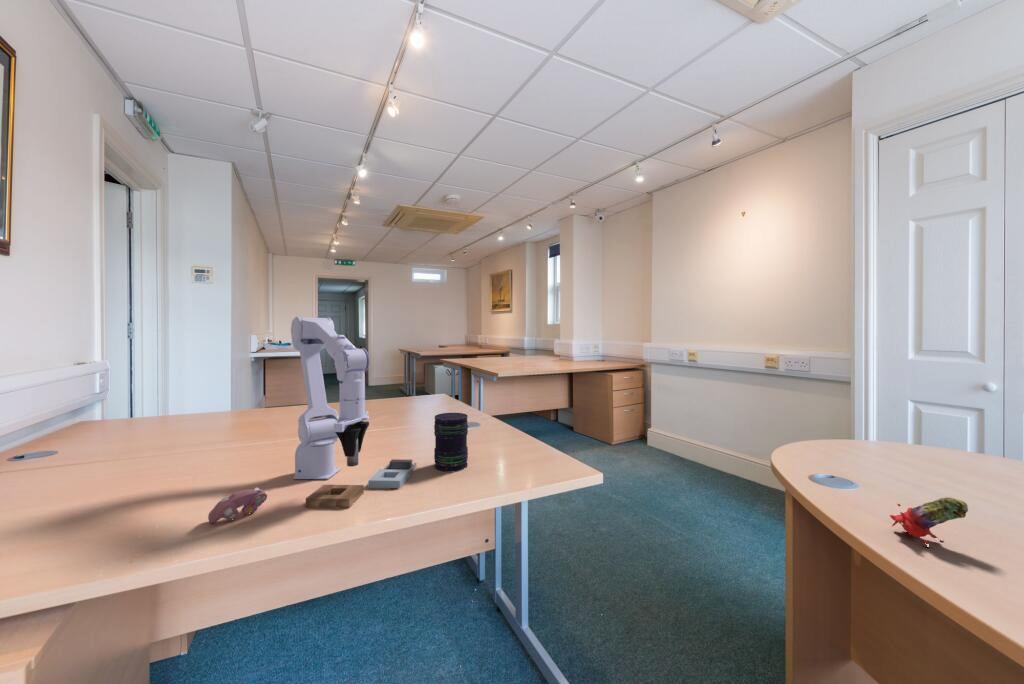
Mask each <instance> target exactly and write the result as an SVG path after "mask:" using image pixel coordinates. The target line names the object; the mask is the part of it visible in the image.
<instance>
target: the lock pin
mask: <svg viewBox="0 0 1024 684" xmlns="http://www.w3.org/2000/svg"><path fill="white" fill-rule="evenodd" d="M358 465H359V453H358V438H357V443H356V452H355V456H353V457H346V466H347V467H357V466H358Z"/></svg>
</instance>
